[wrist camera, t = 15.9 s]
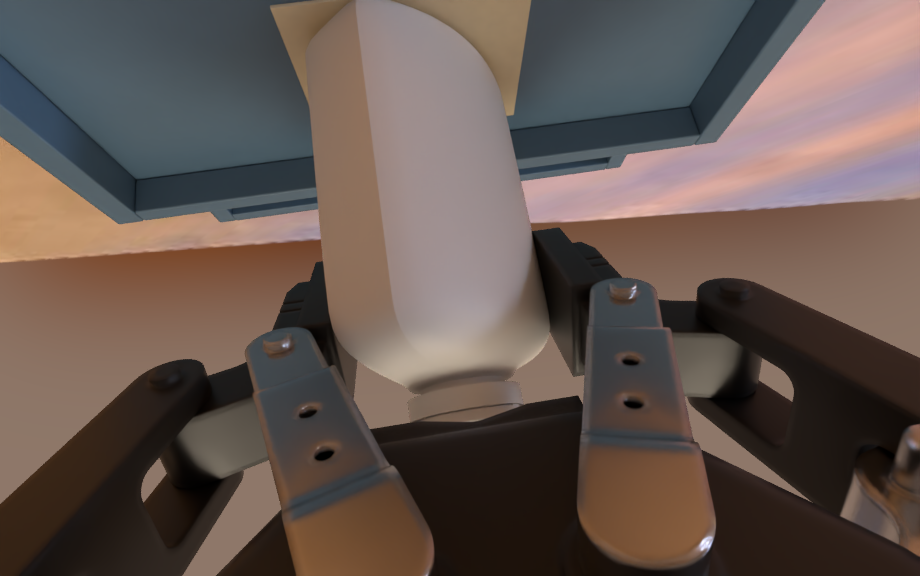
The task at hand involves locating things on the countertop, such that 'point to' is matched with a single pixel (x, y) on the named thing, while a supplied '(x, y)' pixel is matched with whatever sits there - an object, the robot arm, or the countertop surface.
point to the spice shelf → (287, 102)
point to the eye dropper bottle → (422, 212)
